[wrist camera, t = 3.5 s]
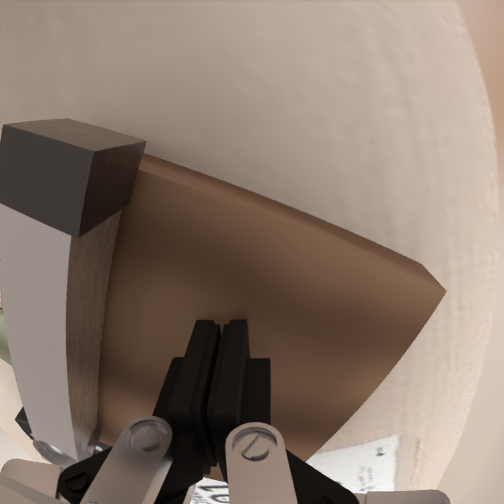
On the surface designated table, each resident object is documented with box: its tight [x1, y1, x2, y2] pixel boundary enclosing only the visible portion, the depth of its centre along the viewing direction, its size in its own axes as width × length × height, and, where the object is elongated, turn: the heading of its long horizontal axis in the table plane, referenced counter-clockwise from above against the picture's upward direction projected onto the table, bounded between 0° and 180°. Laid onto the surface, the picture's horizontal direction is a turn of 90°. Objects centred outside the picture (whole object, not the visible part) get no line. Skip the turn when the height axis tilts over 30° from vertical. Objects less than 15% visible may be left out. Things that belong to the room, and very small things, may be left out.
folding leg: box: [0, 119, 146, 468], centre depth 10 cm, size 17×3×3 cm, turn 159°
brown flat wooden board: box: [0, 154, 447, 482], centre depth 13 cm, size 17×30×2 cm, turn 69°
